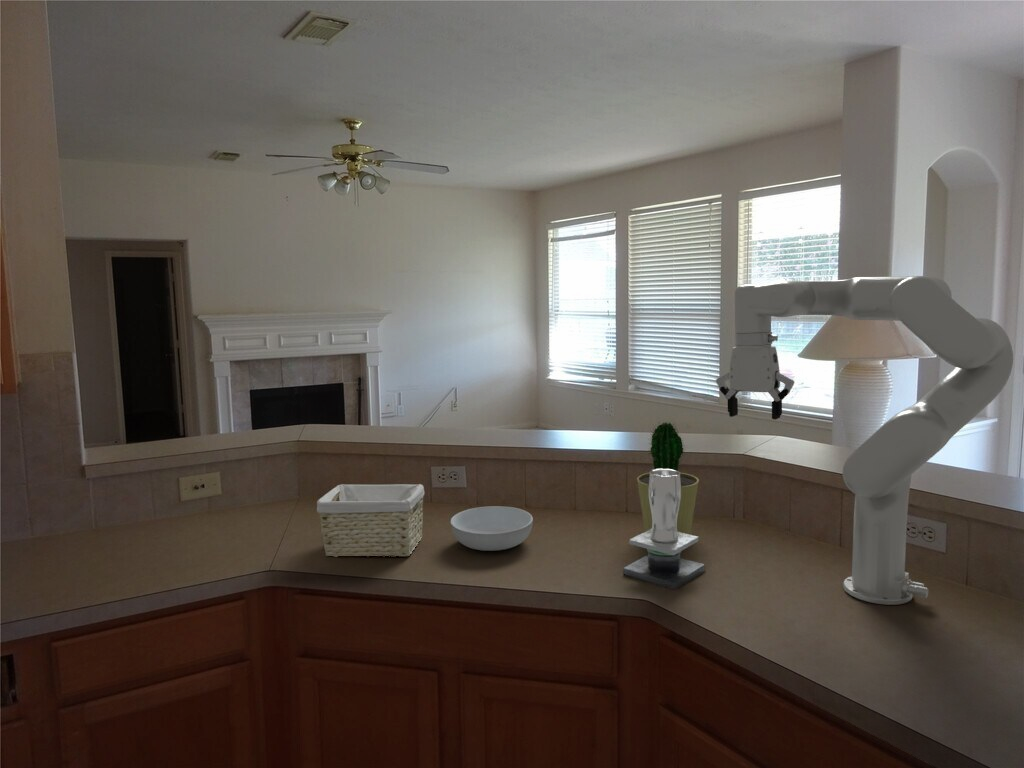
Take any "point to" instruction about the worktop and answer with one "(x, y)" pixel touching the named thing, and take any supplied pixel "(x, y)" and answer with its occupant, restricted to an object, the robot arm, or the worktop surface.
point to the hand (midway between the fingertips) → (754, 417)
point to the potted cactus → (667, 457)
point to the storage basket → (372, 519)
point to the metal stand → (664, 561)
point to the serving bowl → (491, 527)
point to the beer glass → (664, 504)
